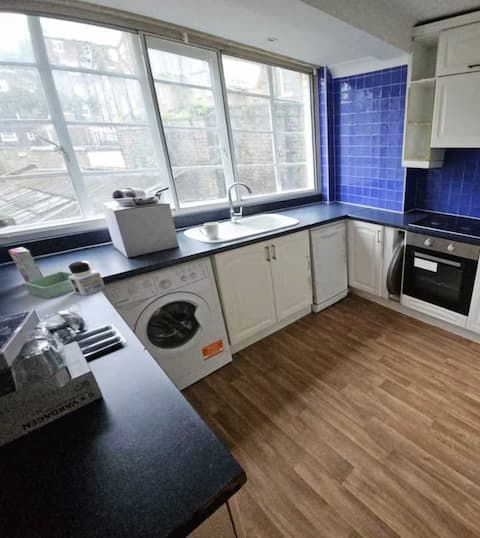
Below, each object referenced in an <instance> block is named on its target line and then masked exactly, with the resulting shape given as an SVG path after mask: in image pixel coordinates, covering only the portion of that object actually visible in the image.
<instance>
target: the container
mask: <svg viewBox="0 0 480 538" xmlns="http://www.w3.org/2000/svg"><path fill="white" fill-rule="evenodd" d="M68 269H69V271H70V273H72V275H71V276H68V279H69V281H70V283H71V285H72V287H73V290H72V291H73V292H74V293H75V294H79V295H83V296H88V295H90V294H93V293H95V292H98V291H101V290H103V289H105V288H106V285H105V283H104V280H103V278H102V276H101V274H100V271H96V270H93V268H92V265H91V263H90V261H88V260H79V261H75V262H71V263H70V264H69V265H68Z"/></svg>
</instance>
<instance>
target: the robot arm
mask: <svg viewBox="0 0 480 538" xmlns="http://www.w3.org/2000/svg"><path fill="white" fill-rule="evenodd" d="M17 225H18V220H17V218H16V217H15V216H12V215H4V214H2V213H0V229H4V228H7V227H10V226H17Z"/></svg>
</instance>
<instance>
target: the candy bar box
mask: <svg viewBox="0 0 480 538" xmlns="http://www.w3.org/2000/svg"><path fill="white" fill-rule="evenodd" d="M7 251H8V253H9V255H10V256H11V258H12V260H13V262H14V264H15V266H16V267H17V269H18V271H19V273H20V275H21V276H22V278H23V281H25V282H28V281H32V280H35V279H38V278H41V277H44V275H43V274H42V272H41V269H40V267H39V266H38V263H37V262H36V260H35V259H34V256H33V255H32V253H31V250H30V249H29V250H28V249H27V248H26V247H24V246H20V247H15V248H11V249H8V250H7Z"/></svg>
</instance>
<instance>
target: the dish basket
mask: <svg viewBox="0 0 480 538" xmlns="http://www.w3.org/2000/svg"><path fill="white" fill-rule="evenodd" d="M71 275H72V273H71V272H67V271H63V270H62V271H58V272H55V273H51V274H48V275H44V276H43V277H41V278H38V279H35V280H32V281H28V282H26V281H25V282H23V285H24V287H25V288H26V290H27V292H28V294H31V295H35V296H38V297H40V298H41V297H42V298H46V299H48V300H50V299H52V298H56V297H58V296H59V297H60V296H61V295H64V294H66V293H69V292H73V291H74V290H73V287H72V285H71V283H70V281H69V279H68V276H71Z"/></svg>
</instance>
